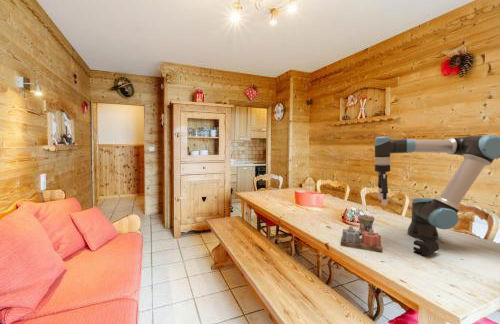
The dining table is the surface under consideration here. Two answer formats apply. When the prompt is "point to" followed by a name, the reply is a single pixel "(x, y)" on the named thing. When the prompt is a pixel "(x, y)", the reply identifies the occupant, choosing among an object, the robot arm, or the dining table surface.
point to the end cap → (425, 246)
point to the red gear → (371, 239)
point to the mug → (365, 223)
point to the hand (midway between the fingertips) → (382, 202)
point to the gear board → (361, 243)
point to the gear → (351, 236)
